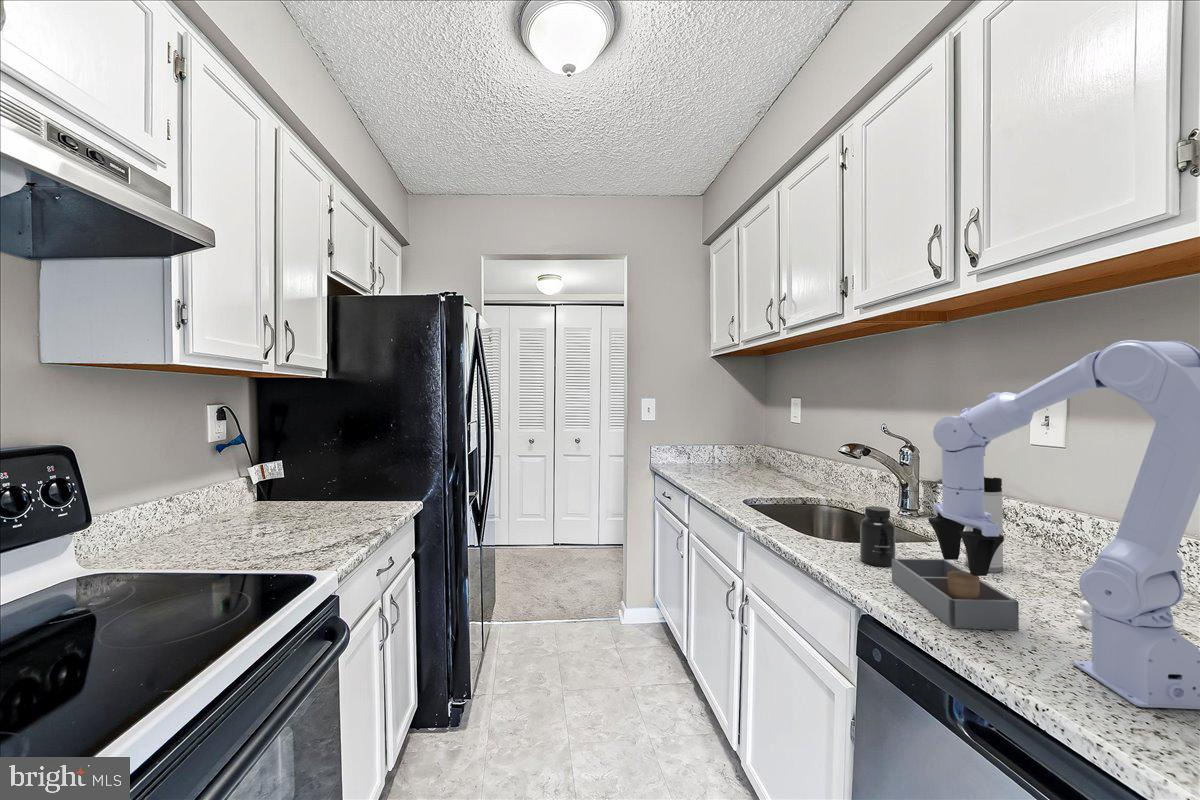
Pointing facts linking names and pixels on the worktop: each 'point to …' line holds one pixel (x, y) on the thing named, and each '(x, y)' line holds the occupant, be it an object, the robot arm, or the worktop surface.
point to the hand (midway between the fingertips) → (964, 566)
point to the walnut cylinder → (963, 585)
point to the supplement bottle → (877, 537)
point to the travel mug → (993, 517)
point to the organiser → (932, 592)
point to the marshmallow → (1085, 614)
